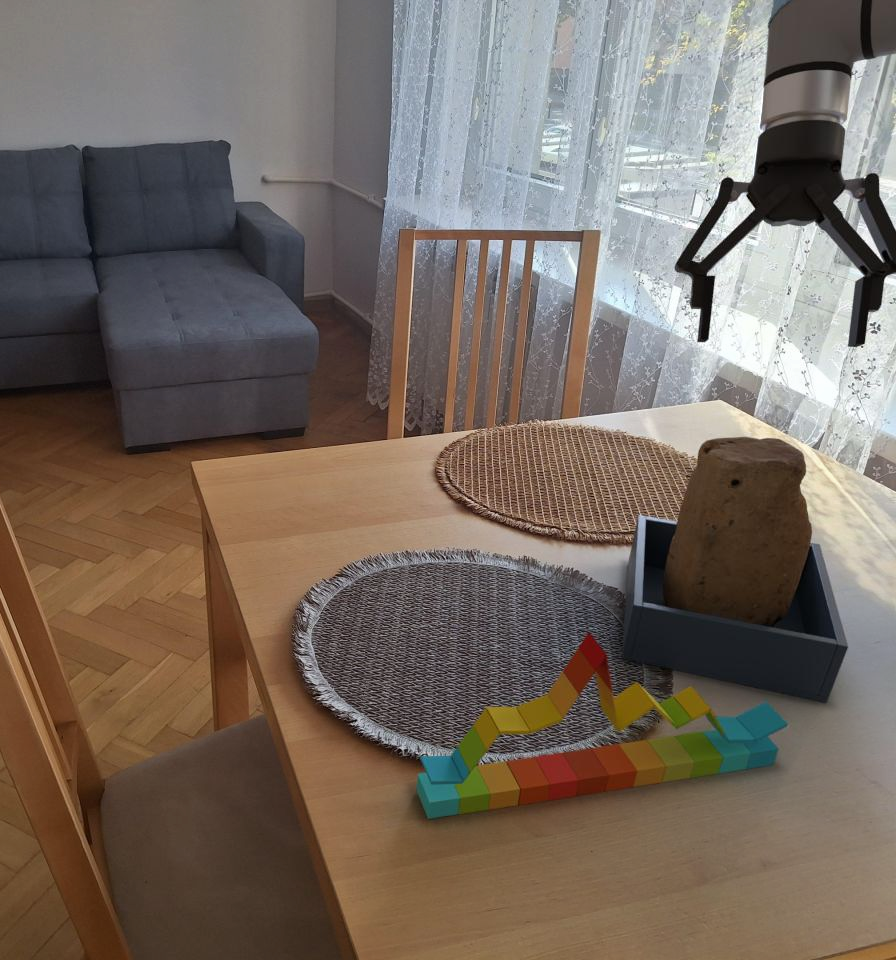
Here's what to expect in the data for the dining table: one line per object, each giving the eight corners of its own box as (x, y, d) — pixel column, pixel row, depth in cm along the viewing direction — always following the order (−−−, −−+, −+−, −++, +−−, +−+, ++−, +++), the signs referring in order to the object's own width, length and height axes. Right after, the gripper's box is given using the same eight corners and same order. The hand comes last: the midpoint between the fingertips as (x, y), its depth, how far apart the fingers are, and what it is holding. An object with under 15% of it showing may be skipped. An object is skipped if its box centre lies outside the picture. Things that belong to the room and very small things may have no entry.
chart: (748, 737, 75) (794, 599, 68) (773, 764, 73) (823, 624, 65) (415, 788, 72) (426, 648, 64) (427, 819, 69) (441, 677, 62)
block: (671, 639, 86) (715, 463, 77) (652, 595, 93) (691, 428, 83) (787, 647, 85) (848, 469, 75) (760, 601, 91) (812, 431, 81)
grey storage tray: (802, 595, 93) (819, 543, 90) (827, 703, 79) (848, 647, 75) (627, 563, 99) (638, 514, 96) (621, 658, 85) (633, 604, 82)
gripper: (937, 136, 85) (911, 351, 86) (660, 147, 94) (641, 343, 95) (969, 108, 78) (940, 343, 79) (667, 123, 87) (646, 334, 88)
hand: (777, 343), depth 87 cm, fingers open, 13 cm apart
